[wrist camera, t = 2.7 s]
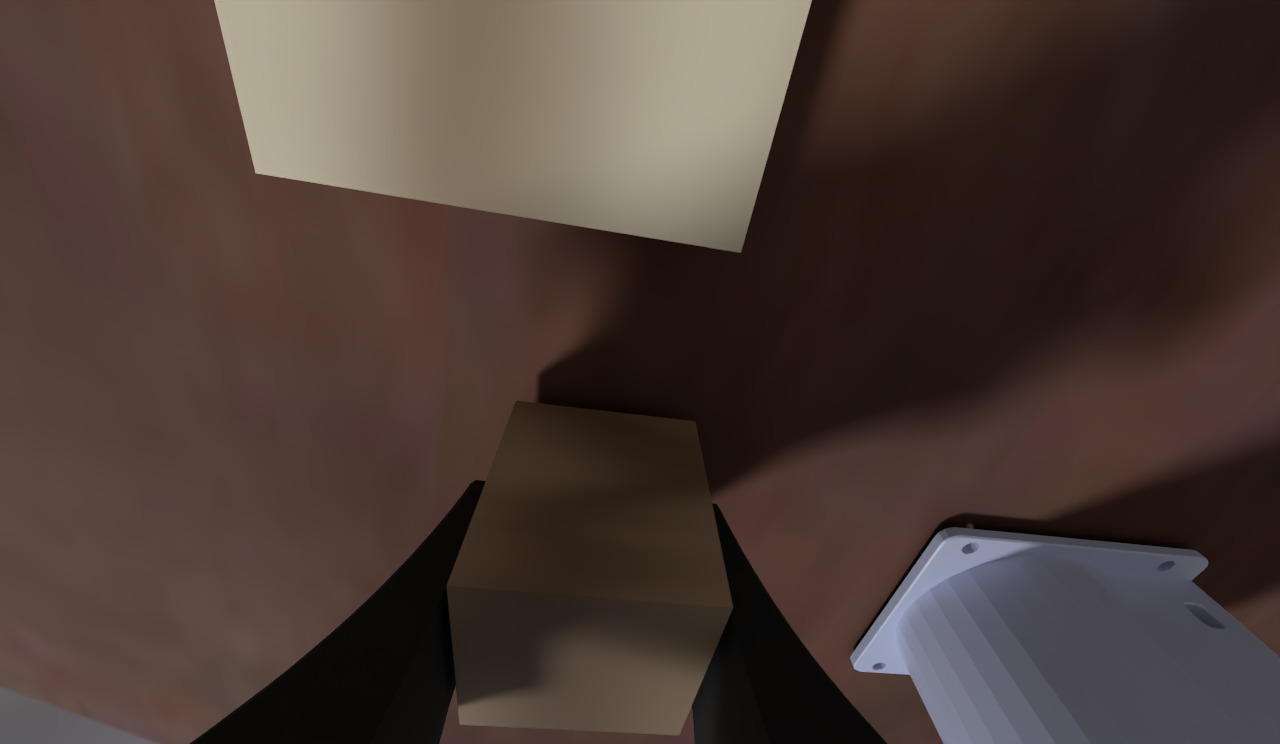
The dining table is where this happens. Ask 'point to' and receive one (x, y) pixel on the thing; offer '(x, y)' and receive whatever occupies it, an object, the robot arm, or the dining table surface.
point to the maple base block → (524, 104)
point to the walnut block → (588, 576)
